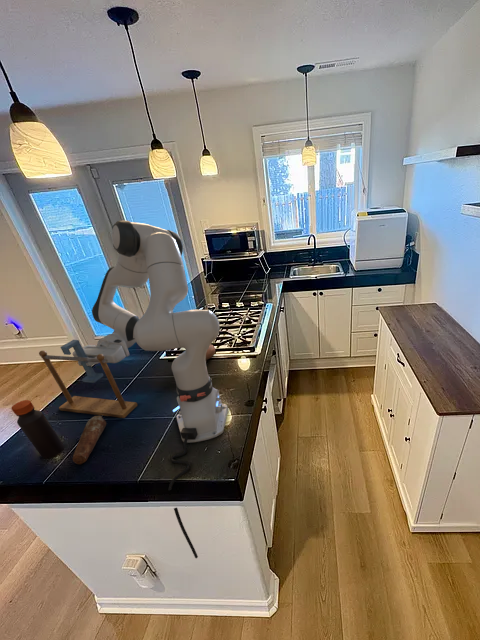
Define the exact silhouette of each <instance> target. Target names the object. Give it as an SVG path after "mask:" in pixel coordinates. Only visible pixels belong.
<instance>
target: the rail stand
mask: <svg viewBox="0 0 480 640" xmlns="http://www.w3.org/2000/svg"><path fill="white" fill-rule="evenodd" d="M38 355H39V357H40V358H41V359H42V360H43V362H44V363H45V365H46V367H47V369H48V370H49V372H50V374H51V375H52V377H53V379H54V380H55V382H56V384H57V385H58V387H59V389H60V391H61V392H62V394H63V396H64V398H65V399H66V401H65V402H64V403H63V404H62V405H60V406H59V407H58V409H59V411H62V412H63V411H64V412H70V413H78V414H80V413H81V414H87V415H94V416H102V417H103V416H105V417H113V418H120V419H125V418H126V417H127V416H128V415H129V414H131V412H132V411H133V410H134V409H136V408H137V407H138V403H137V402H135V401H127V400H125V399H124V397H123V396H122V393H121V391H120V389H119V387H118V385H117V382H116V380H115V378H114V376H113V374H112V371H111V370H110V368H109V365H108V363H106V360H105V357H104V355H103V354H98V355H97V358H84V357H74V356H70V355H53V354H51V355H50V354H48V352H47V351H46V350H40V351H39V352H38ZM51 360H56V361H57V360H58V361H71V362H72V361H73V362H78V361H85V362H99V363H98V364H100V366H101V368H102V370H103V372H104V374H105V377H106V379H107V380H108V382H109V385H110V387H111V390H112V391H113V393H114V395H115V398H116V399H106V398H99V397H87V396H79V395H73V396H72V395H71V394H70V392H69V390H68V389H67V387H66V385H65V383H64V381H63V380H62V378H61V376H60V375H59V373H58V371H57V369H56V368H55V366H54V364H53V363H52V361H51Z"/></svg>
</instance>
